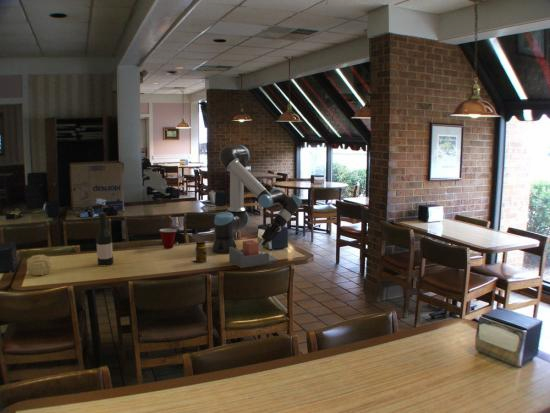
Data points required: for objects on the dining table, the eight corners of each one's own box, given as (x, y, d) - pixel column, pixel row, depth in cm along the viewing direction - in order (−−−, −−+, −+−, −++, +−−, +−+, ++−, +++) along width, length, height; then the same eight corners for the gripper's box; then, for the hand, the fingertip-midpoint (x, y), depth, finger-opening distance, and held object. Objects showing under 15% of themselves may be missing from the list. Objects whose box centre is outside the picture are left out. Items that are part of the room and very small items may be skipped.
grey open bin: (229, 261, 280) (228, 247, 279) (265, 255, 292) (265, 241, 290) (241, 268, 267) (240, 253, 265) (278, 261, 279) (278, 247, 277)
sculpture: (27, 278, 250) (25, 259, 248) (28, 272, 261) (26, 252, 259) (51, 276, 255) (49, 256, 253) (51, 269, 266) (50, 250, 263)
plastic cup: (181, 246, 310) (180, 228, 308) (168, 250, 301) (168, 232, 299) (168, 244, 316) (168, 226, 313) (156, 248, 307) (155, 230, 305)
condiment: (209, 262, 279) (208, 242, 276) (195, 264, 274) (195, 244, 272) (203, 259, 285) (203, 239, 282) (190, 261, 280) (189, 241, 278)
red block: (242, 258, 280) (242, 241, 278) (252, 256, 283) (252, 239, 282) (249, 261, 273) (249, 244, 272) (259, 259, 277) (259, 243, 275)
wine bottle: (116, 262, 277) (113, 211, 272) (107, 267, 270) (103, 214, 264) (104, 261, 280) (101, 210, 274) (94, 265, 272) (91, 213, 267)
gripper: (292, 223, 281) (267, 255, 276) (280, 219, 292) (256, 250, 287) (284, 216, 277) (259, 248, 272) (273, 212, 288) (248, 242, 283)
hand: (257, 249), depth 280 cm, fingers closed
